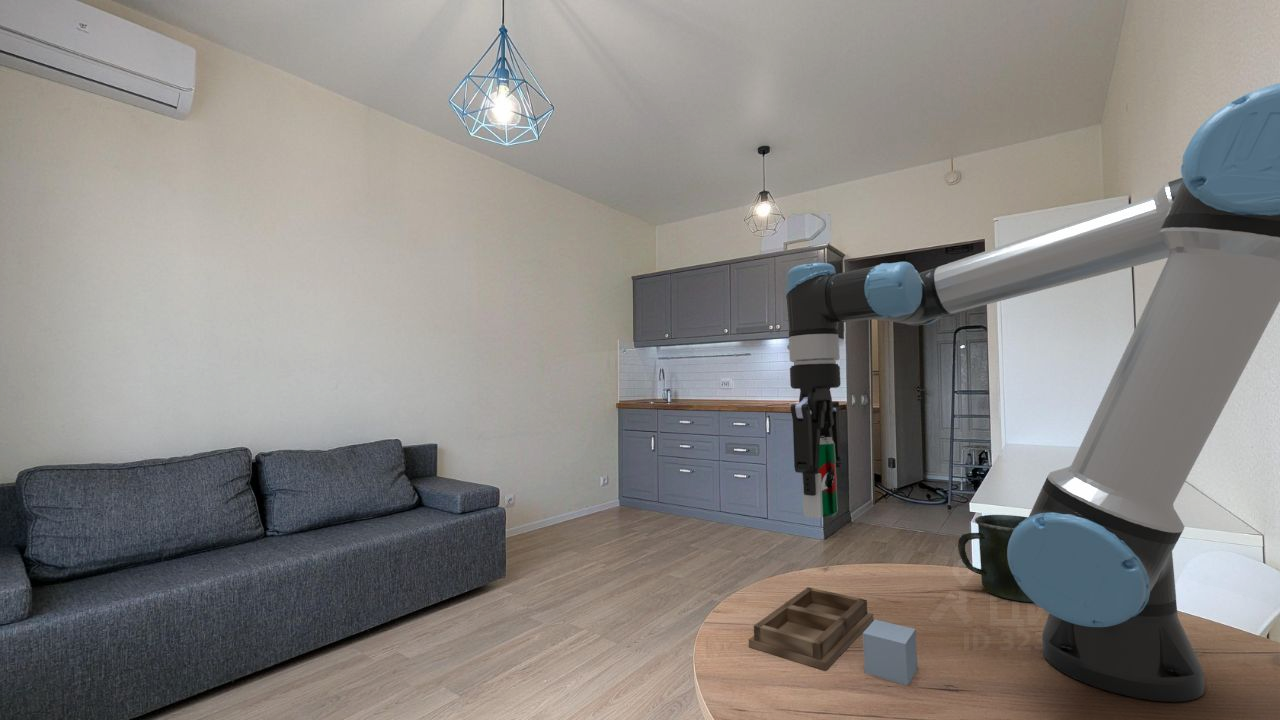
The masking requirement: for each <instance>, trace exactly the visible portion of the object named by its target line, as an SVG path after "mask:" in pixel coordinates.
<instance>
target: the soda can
mask: <svg viewBox="0 0 1280 720" xmlns="http://www.w3.org/2000/svg"><path fill="white" fill-rule="evenodd" d="M818 473H821V482H822V505H823V517H822V518H830V517H834V516H836V515H837V513H838V511H839V507H838V506H839V505H838V504H839V503H838V485H837V484H838V482H837V480H838V479H837V468H836V458H835V443H834V442H833V440H832V437H831V436H820V447H819V464H818Z"/></svg>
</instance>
